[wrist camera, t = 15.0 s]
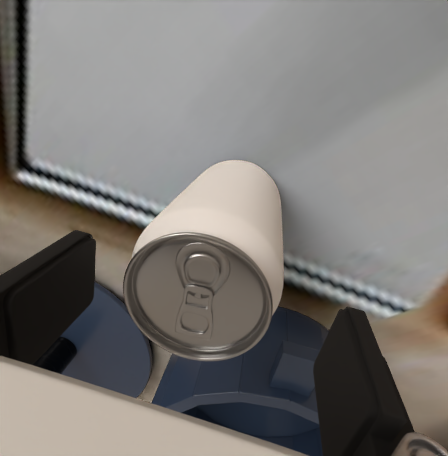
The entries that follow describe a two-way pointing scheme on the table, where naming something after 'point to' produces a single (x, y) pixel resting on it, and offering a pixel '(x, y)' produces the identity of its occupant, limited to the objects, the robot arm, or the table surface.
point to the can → (210, 265)
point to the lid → (102, 348)
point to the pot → (256, 386)
